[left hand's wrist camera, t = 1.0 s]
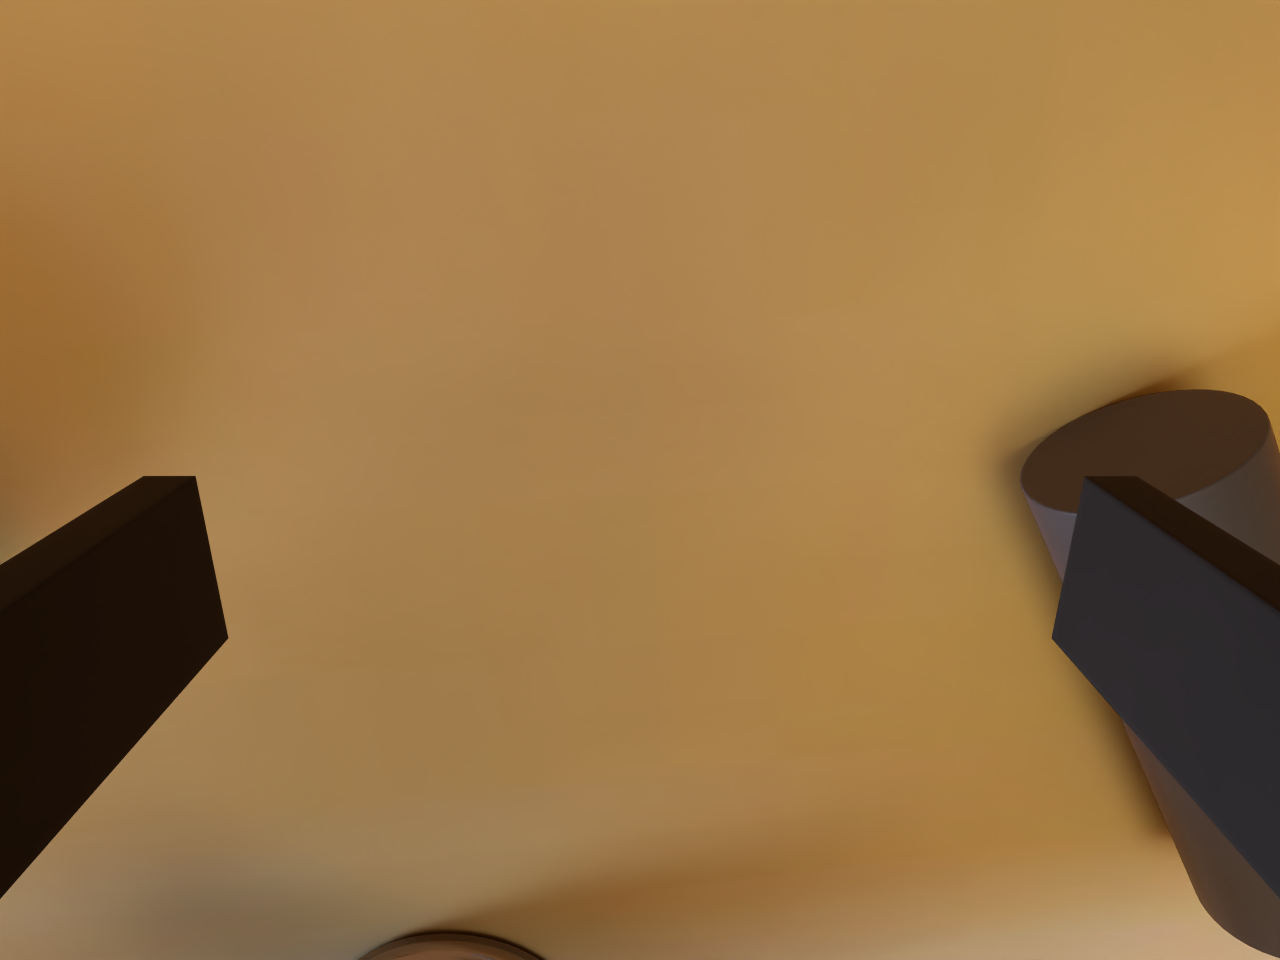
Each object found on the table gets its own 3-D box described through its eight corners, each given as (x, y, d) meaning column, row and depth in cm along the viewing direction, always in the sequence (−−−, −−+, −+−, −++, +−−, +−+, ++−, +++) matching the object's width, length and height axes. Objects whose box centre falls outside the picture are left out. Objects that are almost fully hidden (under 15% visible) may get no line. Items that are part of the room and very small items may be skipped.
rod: (1316, 782, 43) (1470, 923, 35) (1156, 844, 44) (1268, 993, 36) (1176, 369, 35) (1332, 429, 27) (987, 461, 36) (1082, 544, 29)
